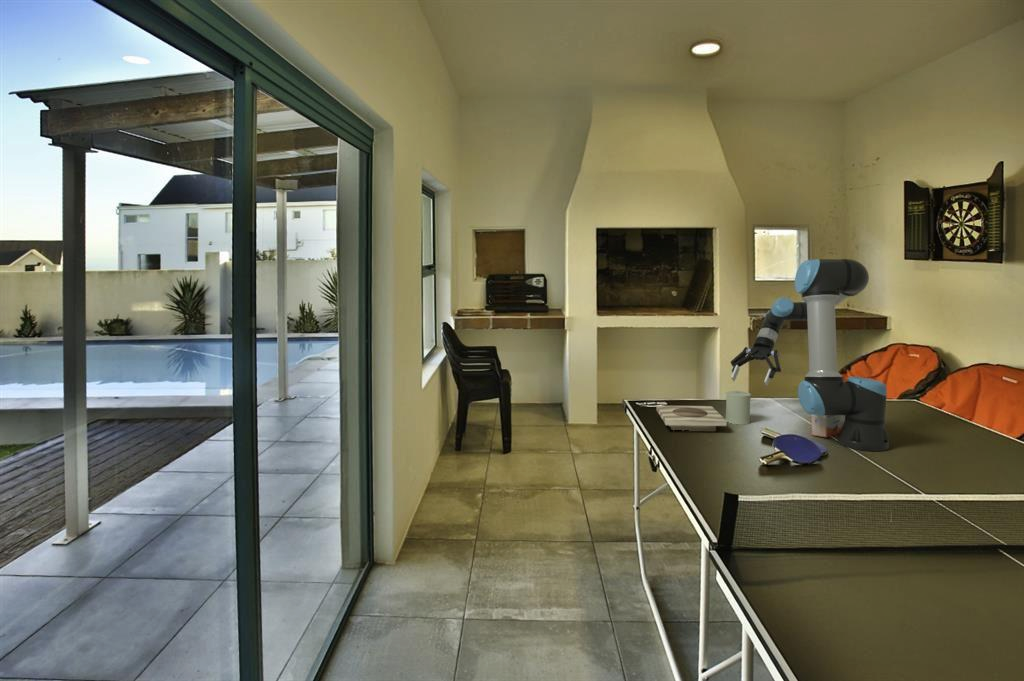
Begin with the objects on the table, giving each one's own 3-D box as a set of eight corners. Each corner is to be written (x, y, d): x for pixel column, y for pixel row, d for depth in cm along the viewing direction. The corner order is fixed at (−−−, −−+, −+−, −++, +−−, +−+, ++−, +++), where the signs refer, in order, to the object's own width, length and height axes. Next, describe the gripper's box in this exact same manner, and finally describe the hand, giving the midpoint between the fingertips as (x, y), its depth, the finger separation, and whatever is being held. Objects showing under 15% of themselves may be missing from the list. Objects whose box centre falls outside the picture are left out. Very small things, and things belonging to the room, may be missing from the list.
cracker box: (828, 438, 204) (825, 380, 203) (811, 436, 209) (808, 379, 208) (846, 431, 213) (844, 375, 211) (829, 429, 217) (827, 374, 216)
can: (745, 418, 233) (747, 389, 232) (753, 425, 224) (754, 395, 223) (722, 418, 234) (723, 389, 233) (728, 424, 225) (729, 394, 224)
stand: (726, 433, 213) (726, 419, 213) (665, 433, 215) (666, 419, 215) (711, 418, 235) (711, 405, 234) (656, 417, 237) (656, 404, 236)
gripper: (798, 349, 236) (782, 391, 228) (738, 344, 254) (722, 382, 246) (794, 338, 232) (778, 380, 224) (734, 333, 250) (717, 372, 241)
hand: (748, 381), depth 234 cm, fingers open, 13 cm apart
